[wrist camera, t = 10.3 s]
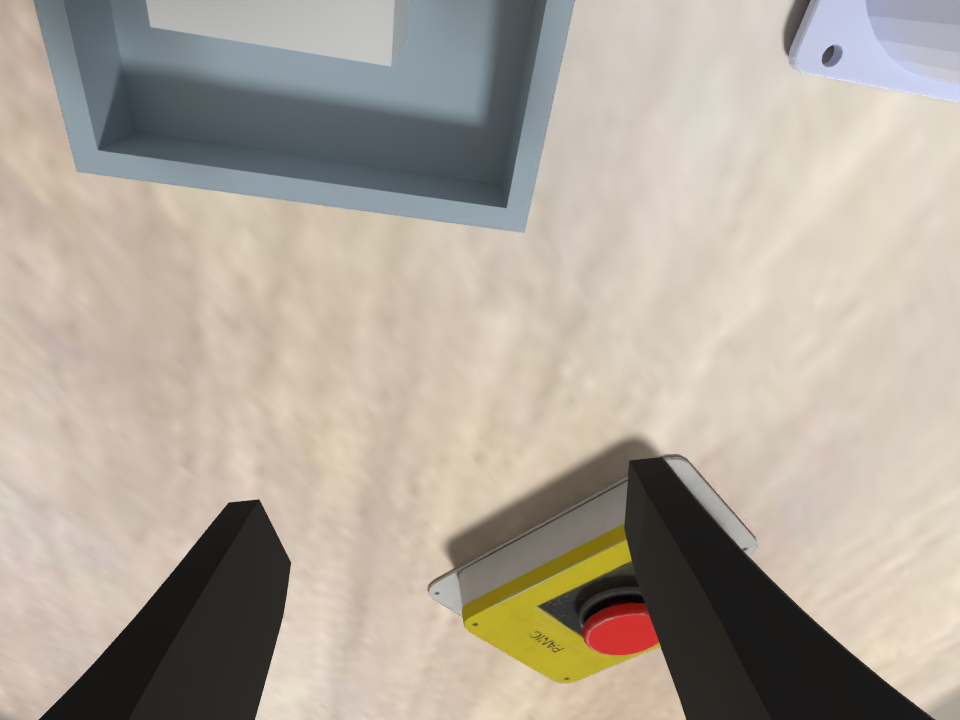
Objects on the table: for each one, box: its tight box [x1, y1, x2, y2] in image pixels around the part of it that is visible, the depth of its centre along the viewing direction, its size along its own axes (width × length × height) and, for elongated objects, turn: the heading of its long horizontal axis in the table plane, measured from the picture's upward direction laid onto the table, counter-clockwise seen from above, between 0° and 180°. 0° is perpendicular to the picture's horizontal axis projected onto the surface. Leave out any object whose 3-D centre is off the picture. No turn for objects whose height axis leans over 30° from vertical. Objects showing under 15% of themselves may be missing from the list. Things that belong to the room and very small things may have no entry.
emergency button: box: [428, 457, 758, 683], centre depth 27 cm, size 9×4×15 cm
